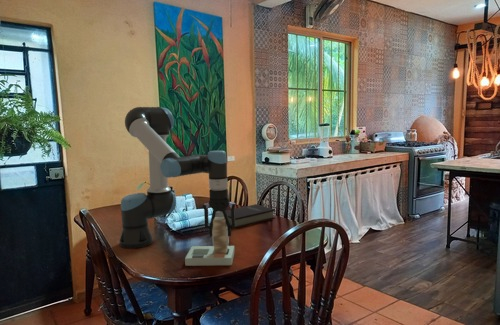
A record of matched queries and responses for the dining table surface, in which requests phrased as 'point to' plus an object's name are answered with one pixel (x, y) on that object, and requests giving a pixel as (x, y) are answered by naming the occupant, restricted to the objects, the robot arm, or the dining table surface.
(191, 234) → the dining table surface
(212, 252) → the socket board
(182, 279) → the dining table surface
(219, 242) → the maple peg
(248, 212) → the book
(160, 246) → the dining table surface
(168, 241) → the dining table surface
